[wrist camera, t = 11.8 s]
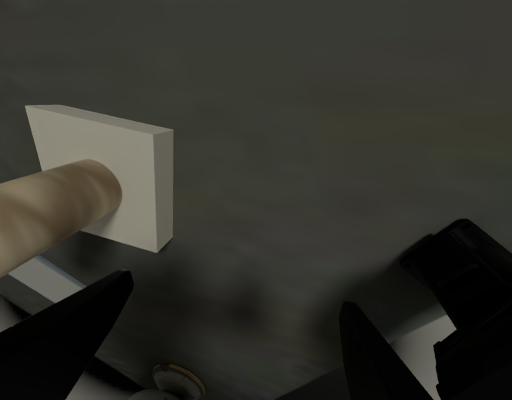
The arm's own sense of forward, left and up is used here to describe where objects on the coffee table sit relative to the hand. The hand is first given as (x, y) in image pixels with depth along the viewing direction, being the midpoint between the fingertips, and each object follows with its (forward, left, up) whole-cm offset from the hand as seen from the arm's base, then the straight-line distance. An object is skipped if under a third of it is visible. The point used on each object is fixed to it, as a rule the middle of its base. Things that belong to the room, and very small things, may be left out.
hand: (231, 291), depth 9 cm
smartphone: (+18, +34, -13) cm, 41 cm away
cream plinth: (+13, +9, -13) cm, 21 cm away
